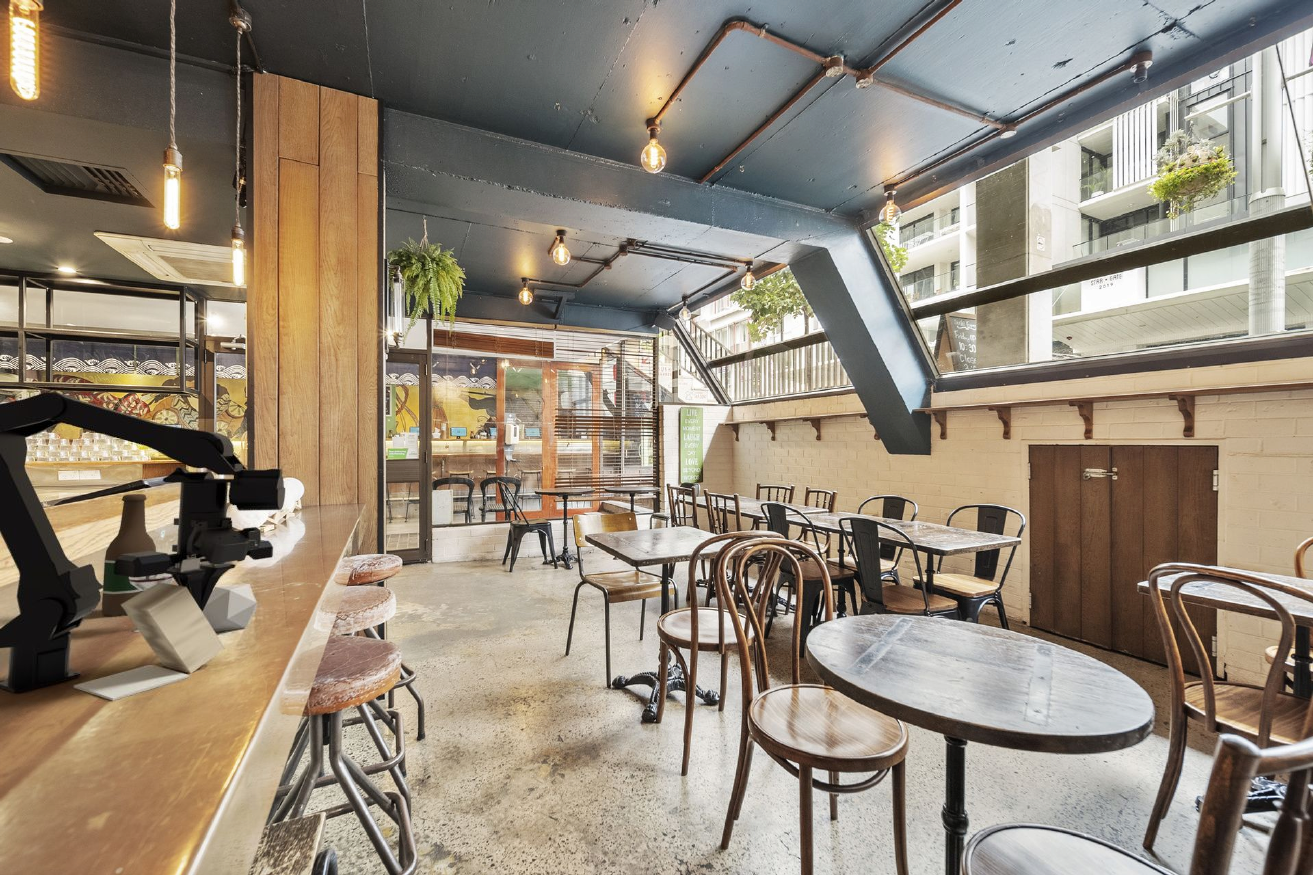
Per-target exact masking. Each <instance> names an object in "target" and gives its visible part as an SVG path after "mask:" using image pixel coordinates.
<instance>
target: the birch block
mask: <svg viewBox="0 0 1313 875" xmlns="http://www.w3.org/2000/svg"><path fill="white" fill-rule="evenodd" d="M121 606H122V607H123V609H124V610H125V612H126V613H127V615H126V616H128V618H129V619H130V620H131V621H132V623H133V624H134V626H135V628H137V629H138V630H139V631H140V632H139V633H140V635H141V636H142V637H143V638H144V640H145V641H146V643H147V645H149V647H150V648H151V650H152V651H153V652H154V654H155V655H156V658H157V659H159V662H160V663H161V664H162V665H163V666H164V667H166V668H170V669H175V670H176V671H177V670H178V671H180V672H185V673H188V674H193V673H194V672H195V671H197V670H198V669H199V668H201V667H202V666H203V665H204V664H206V663H208V661H209V660H212V659H213V658H214V657H215V656H216V655H218V654H219V653H220V652H222V651H223V650H225V649H226V647H225V645H224V644H223V642H222V640H221V639H220V637H219V636H218V634H217V632H215V631H214V630H213V628H212V627H211V625H210V623H209V622H208V620H207V619H206V617H205V616H204V614H203V613H202V611H201V609H200V608H199V606H198V605H197V603H196V602H195V600H194V598H193V597H192V595H191V594H190V592H189V591H188V589H187V587H184V586H179V585H178V584H171V583H170V584H166V583H160V582H159V583H157V584H155V585H153V586H152V587H150V588H148V589H147V590H145V591H143V592H142V593H140V594H138V595H136V596H135V597H133V598H131V599H130V600H128V601H126V602H124V603H123V604H121Z"/></svg>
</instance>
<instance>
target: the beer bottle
mask: <svg viewBox="0 0 1313 875" xmlns="http://www.w3.org/2000/svg"><path fill="white" fill-rule="evenodd" d="M146 500H147V496H146V494H144V493H143V494H142V493H133V494H130V493H129V494H125V495H123V496H122V498H121V501H123V505H122V511H121V518H120V526H119V530H118V533H117V535H116V536H115V537H114V538H113V540H112V541H111V542H109V545H108V546H107V548H106V550H105V557H104V561H103V562H104V566H103V582H102V585H103V586H104V588H102V595H101V614H102V615H103V616H104V615H108V616H107V617H113V616H114V617H122V615H124V616H128V615H127V613H126V612H125V610H124V609H123V607H122V606H121V604H123V603H124V602H126V601H128V600H130V599H131V598H133V597H135V596H136V595H138V594H140V593H142V592H143V590H139V589H137V588H136V587H134V586H133V585H131V583H130V581H129V577H128V576H122V575H116V574H114V563H115V561H116V560H117V558H118V557H119V556H120V555H121V554H128V553H137V552H145V551H154V552H157V546H156V544H155V542H154V539H153V538H152V537H151V536H150V535H149V534H148V532H147V527H146V507H145V505H146V503H145V501H146Z"/></svg>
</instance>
